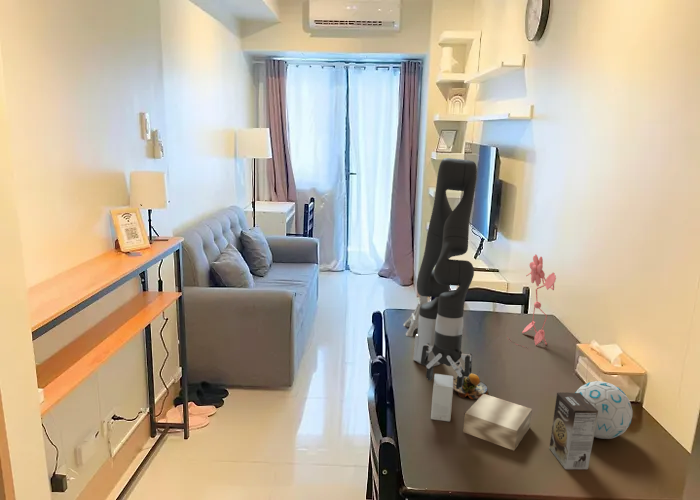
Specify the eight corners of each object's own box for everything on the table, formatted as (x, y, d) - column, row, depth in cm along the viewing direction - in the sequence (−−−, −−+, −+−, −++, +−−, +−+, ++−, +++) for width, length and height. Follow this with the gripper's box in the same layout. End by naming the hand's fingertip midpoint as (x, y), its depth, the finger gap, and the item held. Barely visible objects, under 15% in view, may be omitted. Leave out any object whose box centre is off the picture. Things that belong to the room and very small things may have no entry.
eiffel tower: (439, 338, 211) (446, 264, 205) (406, 336, 211) (411, 263, 205) (435, 326, 224) (440, 256, 218) (403, 324, 224) (408, 255, 218)
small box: (450, 422, 149) (453, 388, 147) (430, 419, 150) (433, 385, 148) (450, 408, 157) (453, 375, 154) (431, 405, 158) (434, 372, 155)
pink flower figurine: (532, 328, 226) (542, 248, 219) (557, 353, 201) (569, 263, 194) (496, 327, 226) (505, 247, 218) (517, 351, 200) (528, 262, 193)
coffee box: (547, 448, 139) (555, 391, 135) (571, 448, 139) (580, 391, 136) (564, 470, 130) (573, 410, 126) (589, 469, 130) (599, 410, 127)
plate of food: (463, 378, 177) (465, 358, 175) (494, 392, 169) (497, 370, 167) (442, 389, 168) (444, 368, 167) (474, 404, 160) (476, 381, 159)
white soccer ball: (560, 418, 154) (567, 370, 151) (612, 421, 154) (620, 373, 150) (580, 448, 139) (588, 396, 136) (638, 452, 139) (648, 399, 136)
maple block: (462, 433, 145) (465, 413, 143) (481, 412, 156) (483, 393, 155) (514, 451, 137) (516, 430, 136) (529, 428, 148) (532, 409, 147)
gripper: (419, 328, 148) (415, 382, 151) (469, 339, 141) (464, 395, 144) (430, 320, 154) (425, 372, 158) (478, 331, 147) (472, 385, 151)
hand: (444, 383), depth 151 cm, fingers open, 8 cm apart
